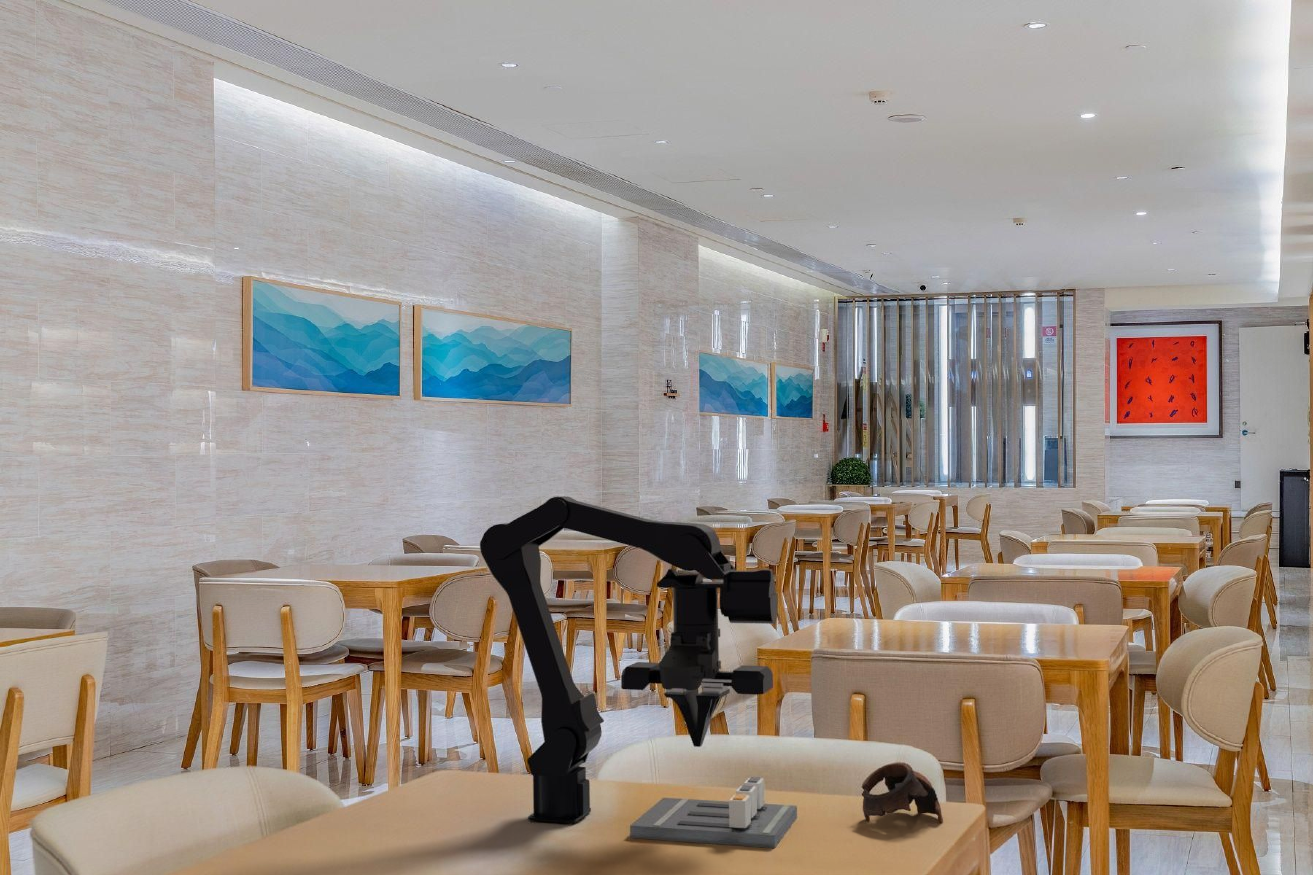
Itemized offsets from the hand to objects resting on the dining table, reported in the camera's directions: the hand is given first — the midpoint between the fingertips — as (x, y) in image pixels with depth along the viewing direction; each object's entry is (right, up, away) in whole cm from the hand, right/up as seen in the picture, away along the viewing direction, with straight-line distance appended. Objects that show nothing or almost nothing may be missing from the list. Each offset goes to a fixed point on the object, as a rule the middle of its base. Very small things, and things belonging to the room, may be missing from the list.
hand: (698, 746), depth 160 cm
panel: (+2, -10, -2) cm, 10 cm away
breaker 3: (+5, -8, -7) cm, 12 cm away
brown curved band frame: (+26, -10, +1) cm, 28 cm away
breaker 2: (+6, -8, -3) cm, 10 cm away
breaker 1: (+7, -8, +1) cm, 11 cm away
